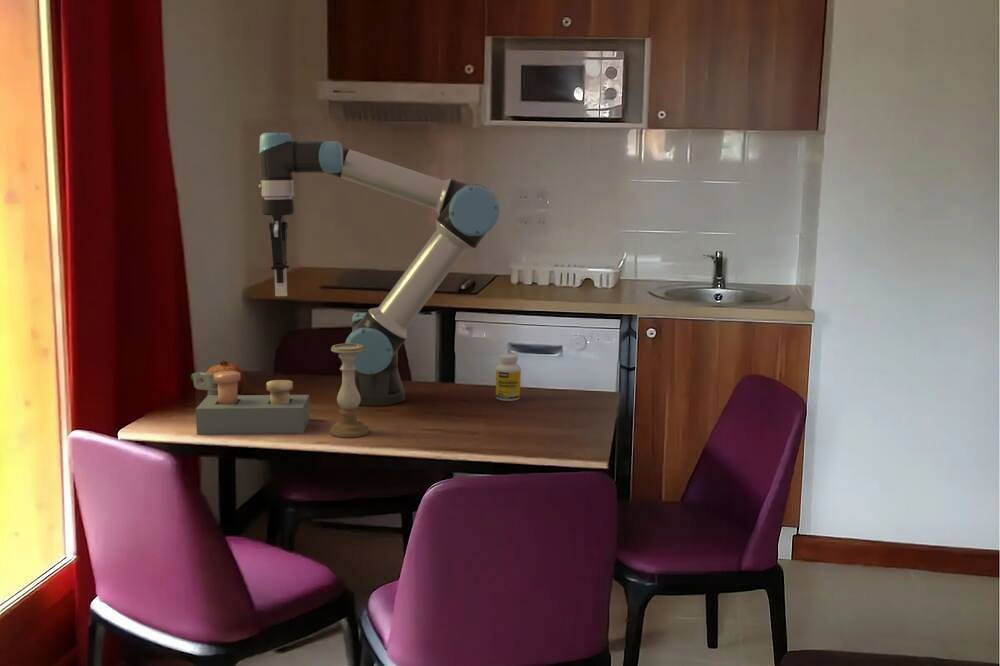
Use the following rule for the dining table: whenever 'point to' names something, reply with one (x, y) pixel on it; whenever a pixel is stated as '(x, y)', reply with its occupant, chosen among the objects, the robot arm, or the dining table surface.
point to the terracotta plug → (227, 386)
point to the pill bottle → (508, 378)
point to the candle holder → (348, 394)
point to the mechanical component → (205, 382)
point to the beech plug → (279, 391)
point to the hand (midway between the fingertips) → (281, 295)
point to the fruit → (228, 367)
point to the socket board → (252, 415)
